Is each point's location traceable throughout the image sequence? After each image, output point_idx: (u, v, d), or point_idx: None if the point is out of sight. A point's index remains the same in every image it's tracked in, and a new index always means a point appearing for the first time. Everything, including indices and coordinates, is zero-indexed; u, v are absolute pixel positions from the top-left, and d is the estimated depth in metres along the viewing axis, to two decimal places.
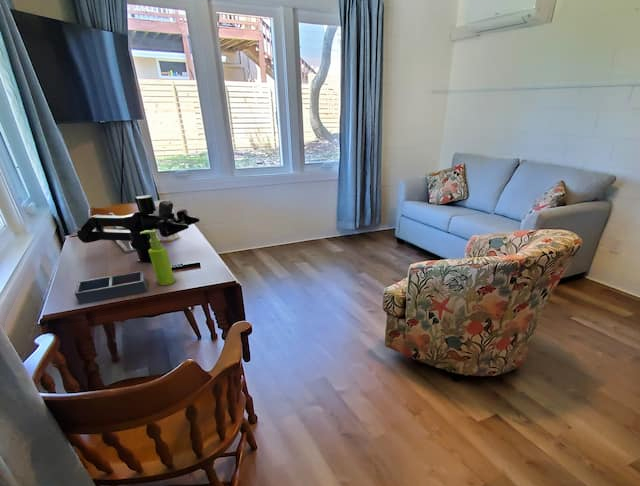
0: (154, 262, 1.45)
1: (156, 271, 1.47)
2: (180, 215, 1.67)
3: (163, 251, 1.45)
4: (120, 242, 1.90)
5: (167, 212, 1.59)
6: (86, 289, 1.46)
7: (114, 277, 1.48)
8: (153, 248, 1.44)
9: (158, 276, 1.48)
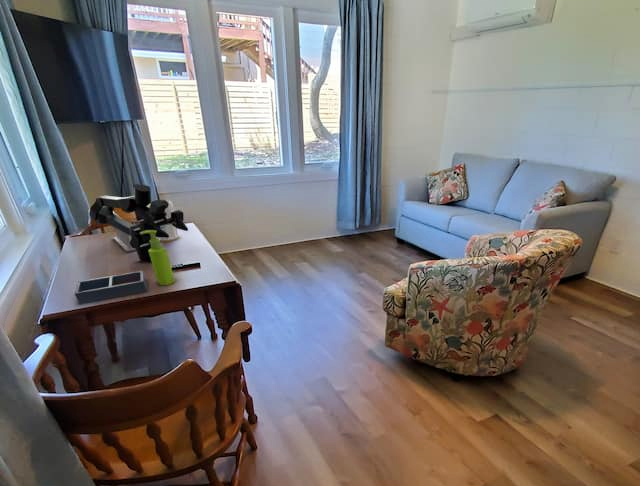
0: (154, 262, 1.45)
1: (156, 271, 1.47)
2: (174, 215, 1.61)
3: (163, 251, 1.45)
4: (120, 241, 1.90)
5: (157, 212, 1.53)
6: (86, 289, 1.46)
7: (114, 277, 1.48)
8: (153, 248, 1.44)
9: (158, 276, 1.48)
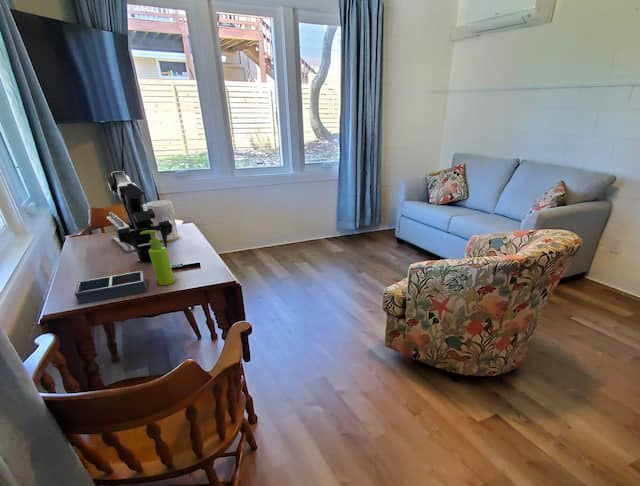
0: (154, 262, 1.45)
1: (156, 271, 1.47)
2: None
3: (163, 251, 1.45)
4: (120, 242, 1.90)
5: (140, 222, 1.46)
6: (86, 289, 1.46)
7: (114, 277, 1.48)
8: (153, 248, 1.44)
9: (158, 276, 1.48)
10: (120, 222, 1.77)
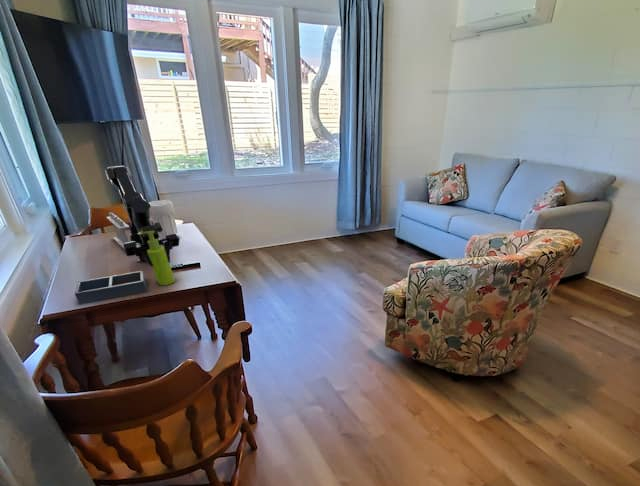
0: (153, 262, 1.45)
1: (155, 271, 1.47)
2: None
3: (162, 251, 1.45)
4: (120, 242, 1.90)
5: (147, 236, 1.44)
6: (86, 289, 1.46)
7: (114, 277, 1.48)
8: (152, 248, 1.43)
9: (158, 276, 1.48)
10: (120, 222, 1.77)
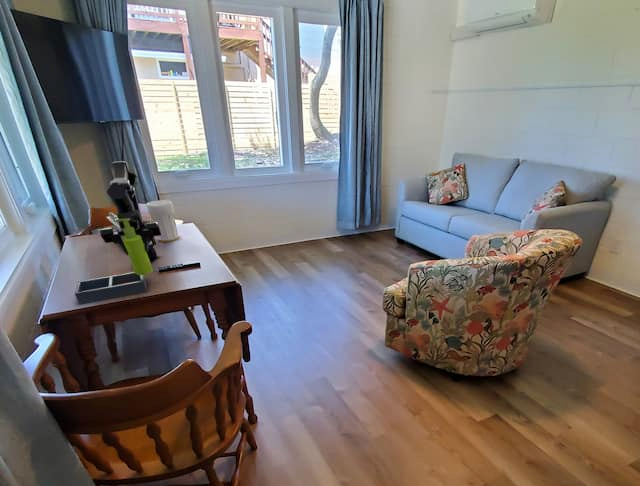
0: (128, 251, 1.40)
1: (131, 260, 1.42)
2: None
3: (137, 240, 1.38)
4: None
5: None
6: (86, 289, 1.46)
7: (114, 277, 1.48)
8: (127, 237, 1.38)
9: (133, 266, 1.43)
10: None
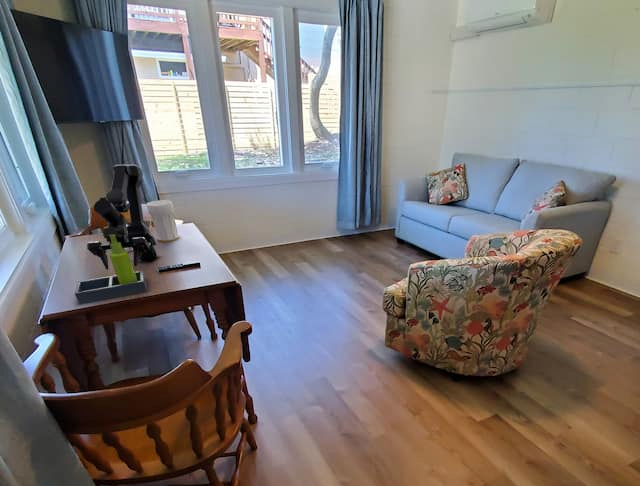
0: (113, 266, 1.41)
1: None
2: None
3: (122, 256, 1.39)
4: None
5: None
6: (86, 289, 1.46)
7: (114, 277, 1.48)
8: (113, 252, 1.39)
9: (119, 280, 1.44)
10: None
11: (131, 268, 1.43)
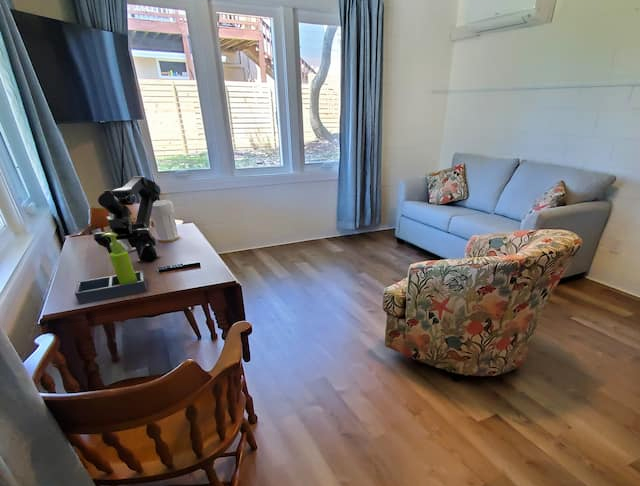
0: (113, 266, 1.41)
1: (117, 275, 1.43)
2: None
3: (122, 256, 1.39)
4: (120, 242, 1.90)
5: (116, 228, 1.47)
6: (86, 289, 1.46)
7: (114, 277, 1.48)
8: (113, 252, 1.39)
9: (119, 280, 1.44)
10: None
11: (131, 268, 1.43)
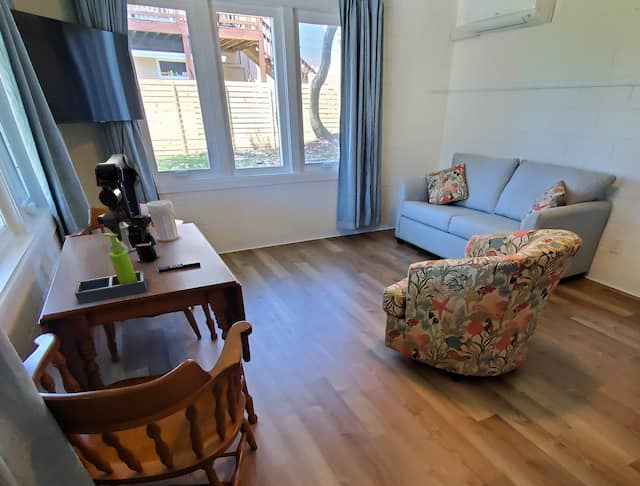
0: (113, 266, 1.41)
1: (117, 275, 1.43)
2: None
3: (122, 256, 1.39)
4: (120, 242, 1.90)
5: None
6: (86, 289, 1.46)
7: (114, 277, 1.48)
8: (113, 252, 1.39)
9: (119, 280, 1.44)
10: (120, 222, 1.77)
11: (131, 268, 1.43)
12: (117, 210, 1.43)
